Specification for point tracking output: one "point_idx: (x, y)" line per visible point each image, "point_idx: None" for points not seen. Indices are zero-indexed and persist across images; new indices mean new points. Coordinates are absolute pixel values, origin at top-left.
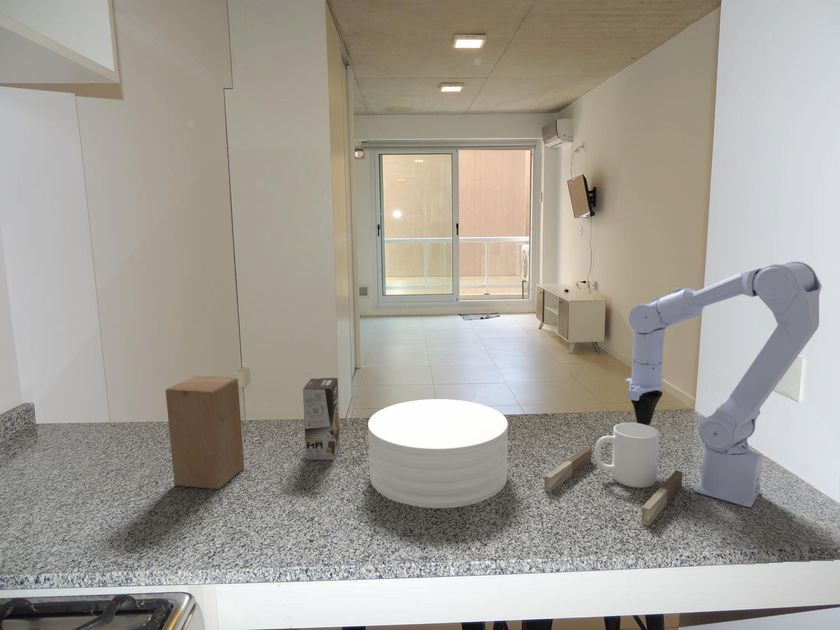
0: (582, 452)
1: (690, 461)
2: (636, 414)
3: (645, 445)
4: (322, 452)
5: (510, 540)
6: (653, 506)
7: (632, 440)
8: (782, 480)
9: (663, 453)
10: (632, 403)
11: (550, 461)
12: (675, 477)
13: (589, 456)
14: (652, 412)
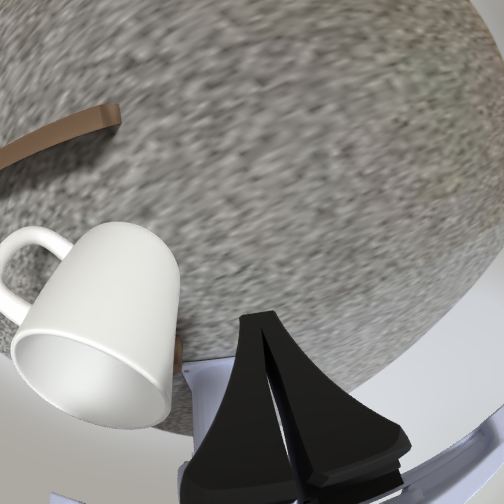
0: (49, 137)
1: (332, 303)
2: (237, 359)
3: (76, 396)
4: None
5: None
6: None
7: (41, 385)
8: None
9: (346, 244)
10: (214, 421)
11: (40, 56)
12: None
13: (98, 129)
14: (278, 410)
